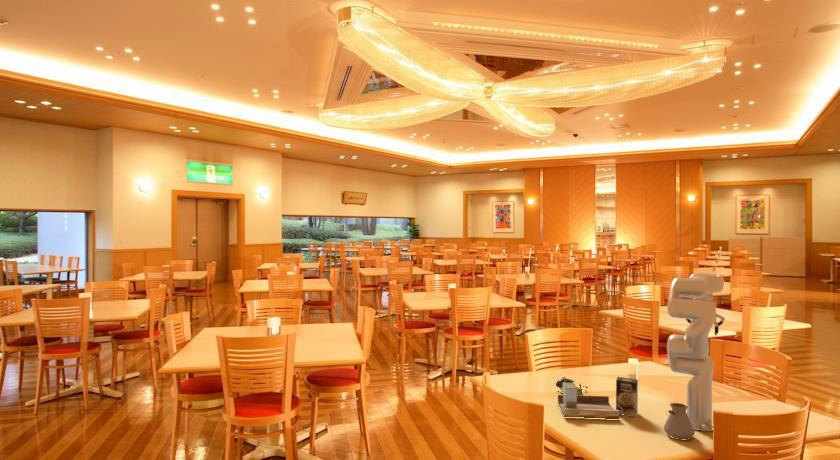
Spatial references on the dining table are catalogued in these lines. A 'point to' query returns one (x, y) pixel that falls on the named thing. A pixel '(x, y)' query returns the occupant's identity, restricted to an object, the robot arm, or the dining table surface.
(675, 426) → the coffee pot
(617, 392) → the coffee box
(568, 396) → the tea tin
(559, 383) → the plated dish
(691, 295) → the robot arm
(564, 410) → the flat grey tray
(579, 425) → the dining table surface
